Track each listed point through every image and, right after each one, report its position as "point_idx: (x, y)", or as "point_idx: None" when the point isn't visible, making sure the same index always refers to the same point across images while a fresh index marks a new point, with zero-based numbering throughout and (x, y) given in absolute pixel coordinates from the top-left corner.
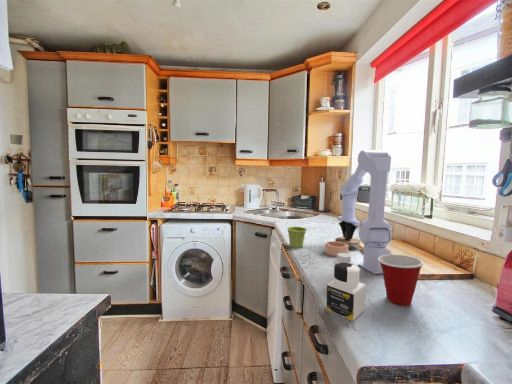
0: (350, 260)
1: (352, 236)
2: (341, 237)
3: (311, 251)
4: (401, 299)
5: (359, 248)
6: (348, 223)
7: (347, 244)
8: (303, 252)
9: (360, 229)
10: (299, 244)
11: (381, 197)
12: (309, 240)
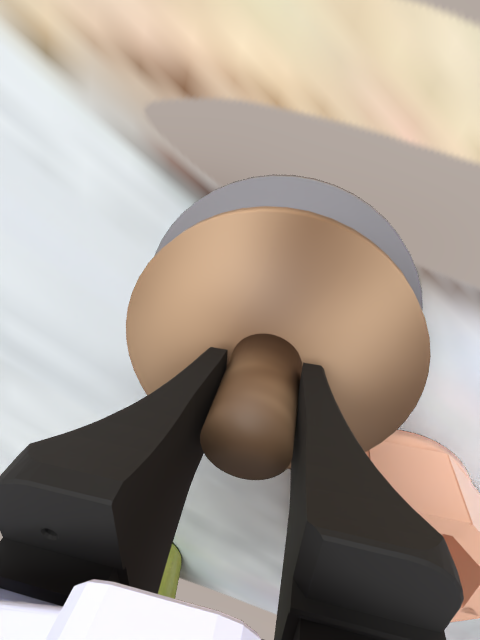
0: None
1: (327, 386)
2: (145, 347)
3: (258, 548)
4: None
5: (375, 238)
6: (135, 534)
7: (458, 523)
8: (260, 580)
9: None
10: (177, 584)
11: None
12: (19, 428)
